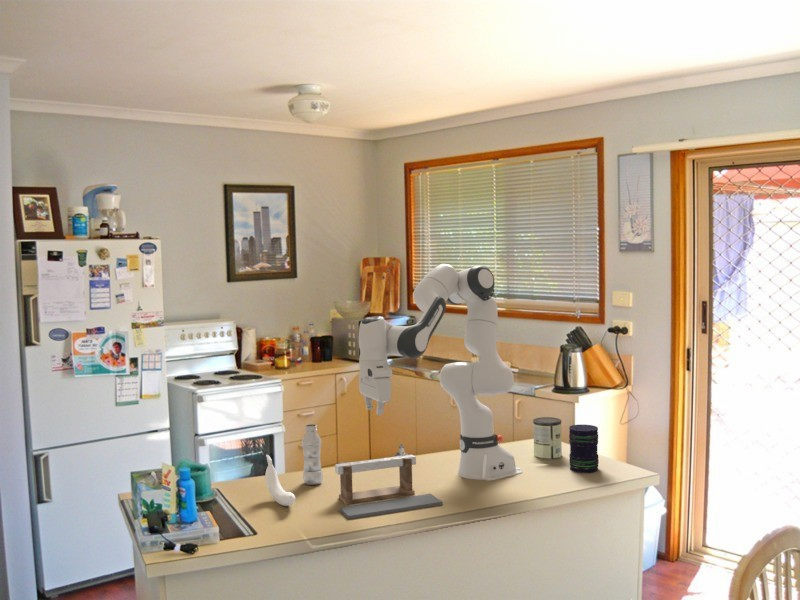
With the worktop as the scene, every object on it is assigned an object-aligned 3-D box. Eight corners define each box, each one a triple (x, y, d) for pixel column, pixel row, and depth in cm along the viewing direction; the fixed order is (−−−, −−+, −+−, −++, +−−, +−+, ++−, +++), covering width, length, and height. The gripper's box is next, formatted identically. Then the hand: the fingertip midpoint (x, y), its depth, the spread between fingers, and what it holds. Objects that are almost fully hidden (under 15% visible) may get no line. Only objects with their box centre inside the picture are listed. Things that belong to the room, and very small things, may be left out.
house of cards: (424, 463, 290) (424, 442, 290) (408, 468, 284) (407, 447, 284) (406, 459, 297) (406, 439, 296) (390, 464, 290) (390, 443, 290)
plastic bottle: (319, 487, 262) (318, 427, 261) (300, 486, 263) (298, 427, 262) (325, 481, 268) (323, 423, 267) (306, 481, 270) (304, 423, 269)
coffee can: (537, 453, 300) (536, 416, 299) (564, 455, 295) (564, 417, 295) (530, 459, 290) (529, 421, 289) (558, 462, 286) (557, 423, 285)
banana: (288, 514, 236) (287, 465, 235) (261, 499, 251) (259, 453, 250) (303, 510, 238) (301, 462, 238) (275, 496, 254) (273, 450, 253)
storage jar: (588, 465, 281) (587, 423, 280) (604, 471, 272) (604, 428, 271) (563, 468, 278) (563, 426, 277) (579, 475, 269) (579, 431, 268)
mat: (430, 496, 249) (430, 493, 249) (442, 504, 241) (442, 501, 241) (339, 510, 238) (339, 507, 238) (348, 519, 230) (348, 516, 230)
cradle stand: (406, 488, 258) (405, 453, 258) (414, 494, 252) (413, 458, 251) (338, 498, 250) (337, 462, 249) (345, 504, 243) (344, 467, 243)
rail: (412, 462, 257) (412, 454, 257) (415, 464, 254) (415, 456, 254) (335, 472, 247) (335, 464, 247) (338, 474, 244) (337, 466, 244)
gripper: (353, 365, 257) (354, 407, 258) (375, 373, 238) (376, 418, 239) (371, 363, 260) (372, 405, 260) (394, 371, 241) (395, 416, 241)
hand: (374, 412), depth 249 cm, fingers open, 8 cm apart
